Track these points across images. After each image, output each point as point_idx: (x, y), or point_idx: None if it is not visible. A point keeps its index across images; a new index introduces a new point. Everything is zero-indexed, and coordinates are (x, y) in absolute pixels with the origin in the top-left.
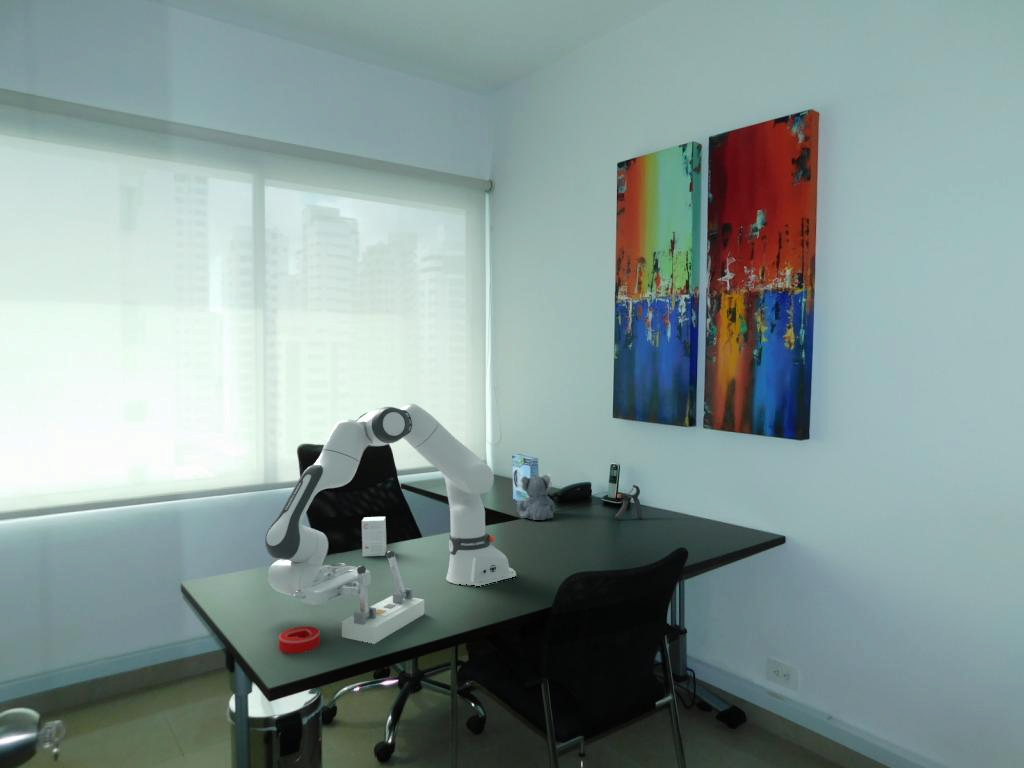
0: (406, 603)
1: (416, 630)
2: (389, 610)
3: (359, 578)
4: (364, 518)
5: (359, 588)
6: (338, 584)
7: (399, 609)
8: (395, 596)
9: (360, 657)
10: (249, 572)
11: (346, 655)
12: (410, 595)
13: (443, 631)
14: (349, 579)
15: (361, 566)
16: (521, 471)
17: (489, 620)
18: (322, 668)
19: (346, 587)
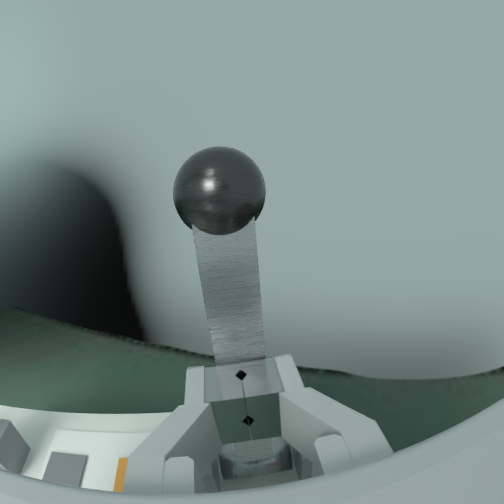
0: (23, 436)
1: (136, 408)
2: (107, 452)
3: (256, 268)
4: None
5: (264, 352)
6: (427, 442)
7: (82, 432)
8: (5, 450)
9: (380, 393)
10: None
11: (408, 422)
12: None
13: (124, 362)
14: (170, 501)
15: (230, 148)
16: None
17: (55, 332)
18: (484, 389)
19: (347, 410)
